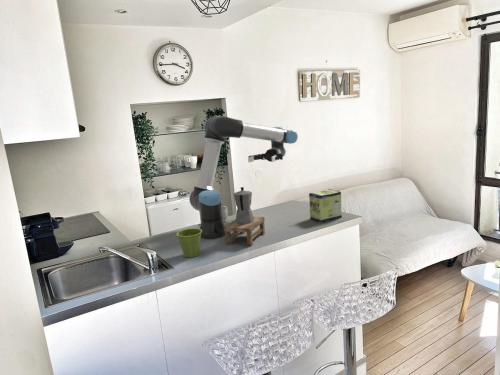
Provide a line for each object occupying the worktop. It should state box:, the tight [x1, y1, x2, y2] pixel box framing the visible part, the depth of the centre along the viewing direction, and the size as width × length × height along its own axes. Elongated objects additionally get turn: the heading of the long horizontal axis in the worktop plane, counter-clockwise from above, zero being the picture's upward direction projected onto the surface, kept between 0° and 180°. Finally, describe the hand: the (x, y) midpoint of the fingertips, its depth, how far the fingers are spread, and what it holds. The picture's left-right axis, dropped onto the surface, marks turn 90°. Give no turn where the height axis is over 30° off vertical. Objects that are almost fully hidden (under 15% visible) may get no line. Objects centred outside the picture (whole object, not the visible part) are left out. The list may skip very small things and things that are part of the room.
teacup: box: [222, 205, 229, 222], centre depth 233 cm, size 14×11×8 cm
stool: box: [224, 216, 266, 247], centre depth 195 cm, size 14×20×9 cm
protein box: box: [308, 188, 343, 223], centre depth 219 cm, size 10×16×16 cm
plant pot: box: [175, 227, 202, 258], centre depth 177 cm, size 12×12×11 cm
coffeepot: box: [232, 186, 254, 224], centre depth 192 cm, size 15×9×18 cm, turn 175°
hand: (260, 159), depth 206 cm, fingers open, 13 cm apart
